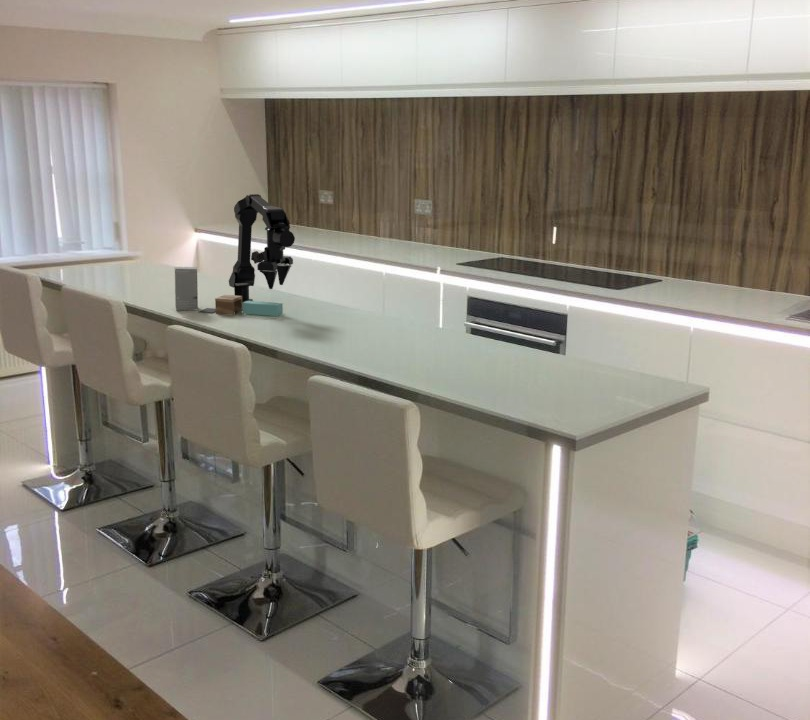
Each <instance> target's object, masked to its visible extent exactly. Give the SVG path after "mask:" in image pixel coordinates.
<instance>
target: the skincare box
mask: <svg viewBox="0 0 810 720" xmlns="http://www.w3.org/2000/svg"><path fill="white" fill-rule="evenodd" d="M198 294H199V293H198V268H197V267H196V266H174V295H175V297H174V300H175V301H174V302H175V303H174V304H175V310H176V311H195V310H196V311H198V310H199V305H198V304H199V302H198V299H199V298H198V297H199V296H198Z"/></svg>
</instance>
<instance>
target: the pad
mask: <svg viewBox="0 0 810 720" xmlns="http://www.w3.org/2000/svg"><path fill="white" fill-rule="evenodd" d="M284 315H285V313H283V314H282V315H279V316H269V315H255V314H243V315H242V316H243V317H251V318H252V317H253V318H262V319H263V318H264V319H278V318H280V317H282V316H284Z"/></svg>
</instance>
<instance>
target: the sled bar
mask: <svg viewBox="0 0 810 720" xmlns="http://www.w3.org/2000/svg"><path fill="white" fill-rule="evenodd" d="M283 305H284V303H283V302H273V301H272V302H270V301H255V300H254V301H253V300H252V301H246V302H243V303H242V307H243V311H242V314H243V315H245V314H255V315H269V316H279V315H282V314H284V312H283V311H284V307H283ZM282 316H283V315H282Z"/></svg>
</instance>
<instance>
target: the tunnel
mask: <svg viewBox="0 0 810 720" xmlns="http://www.w3.org/2000/svg"><path fill="white" fill-rule="evenodd" d="M214 301H215V302H214V303H215V309H216V312H215V315H226V316H227V315H228V316H234V315H235V313H236V312H239V313H241V312H242V313H243V307H242V303H243V302H242V296H236V295H234V294H223V295H222V296H218V297H216V298H214Z"/></svg>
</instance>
